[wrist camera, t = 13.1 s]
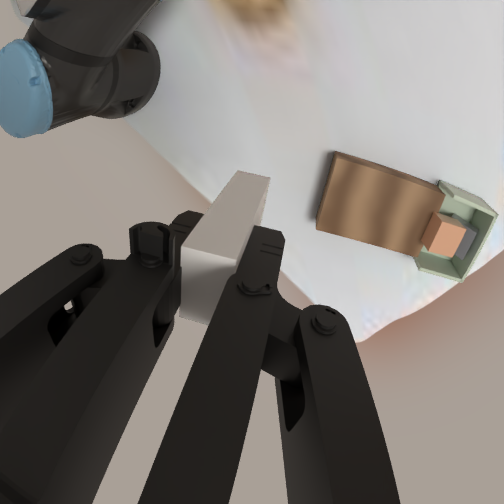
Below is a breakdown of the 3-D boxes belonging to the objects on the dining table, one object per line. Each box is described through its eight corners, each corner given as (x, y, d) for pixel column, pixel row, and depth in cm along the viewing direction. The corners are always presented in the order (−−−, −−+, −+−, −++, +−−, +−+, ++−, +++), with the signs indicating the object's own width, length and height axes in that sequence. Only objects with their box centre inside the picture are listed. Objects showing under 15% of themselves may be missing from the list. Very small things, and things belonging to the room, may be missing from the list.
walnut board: (315, 217, 46) (315, 229, 43) (335, 150, 40) (337, 157, 37) (411, 244, 45) (417, 257, 42) (436, 185, 39) (445, 195, 36)
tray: (409, 249, 46) (418, 270, 41) (439, 180, 39) (454, 194, 34) (451, 262, 45) (462, 282, 40) (481, 198, 38) (498, 214, 33)
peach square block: (420, 240, 40) (428, 251, 38) (433, 211, 38) (442, 221, 35) (444, 246, 40) (452, 257, 38) (457, 219, 38) (466, 229, 35)
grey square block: (462, 260, 38) (465, 255, 40) (476, 233, 36) (479, 229, 37) (438, 243, 41) (442, 239, 43) (451, 216, 38) (455, 213, 40)
